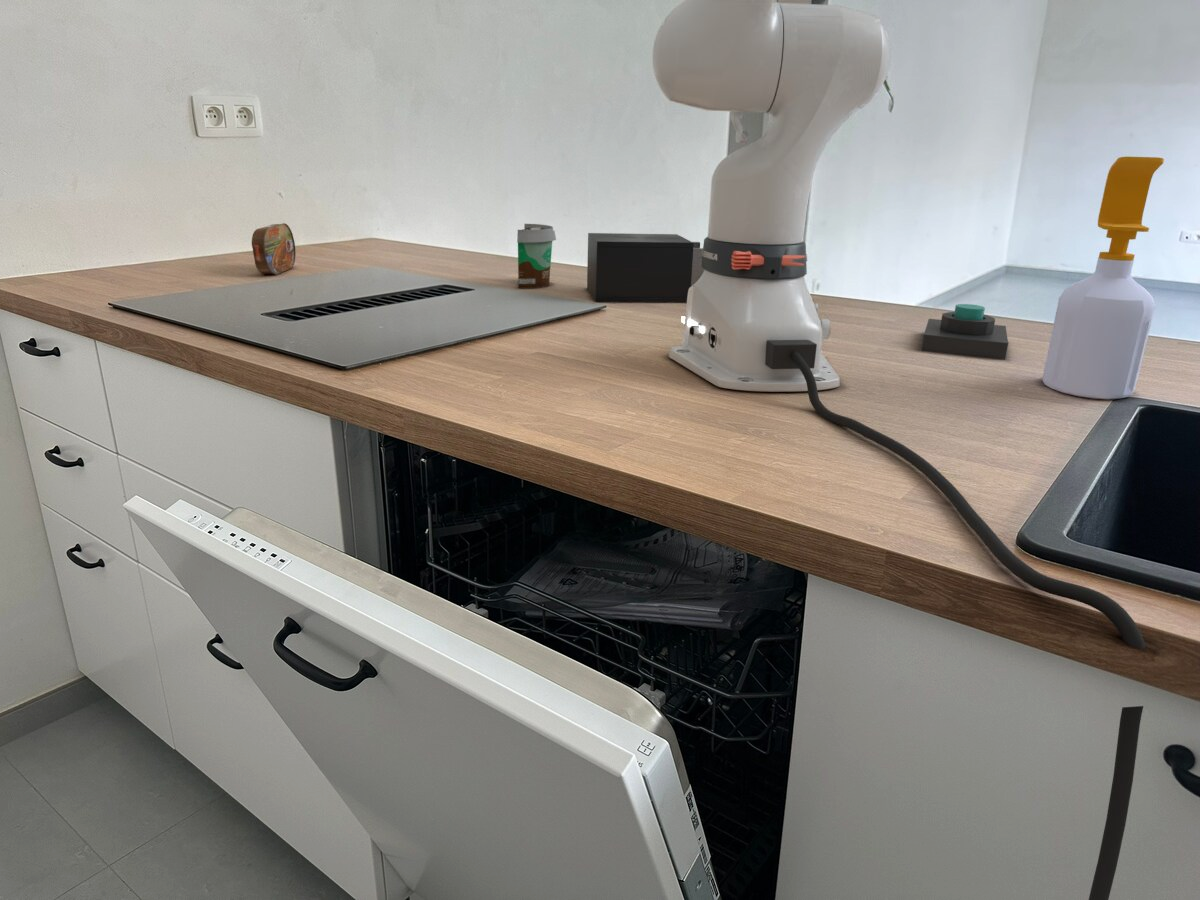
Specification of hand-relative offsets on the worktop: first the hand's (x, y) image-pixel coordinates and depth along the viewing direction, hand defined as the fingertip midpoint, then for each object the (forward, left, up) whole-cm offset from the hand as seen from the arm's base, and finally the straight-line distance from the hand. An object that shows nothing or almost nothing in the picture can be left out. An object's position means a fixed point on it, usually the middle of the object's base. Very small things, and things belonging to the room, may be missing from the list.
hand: (770, 143), depth 135 cm
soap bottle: (-54, -22, -25) cm, 63 cm away
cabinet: (+5, +19, -25) cm, 32 cm away
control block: (-33, -19, -25) cm, 45 cm away
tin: (+29, +83, -25) cm, 92 cm away
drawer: (+5, +11, -24) cm, 27 cm away
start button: (-33, -19, -21) cm, 43 cm away
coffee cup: (+16, +35, -25) cm, 46 cm away
